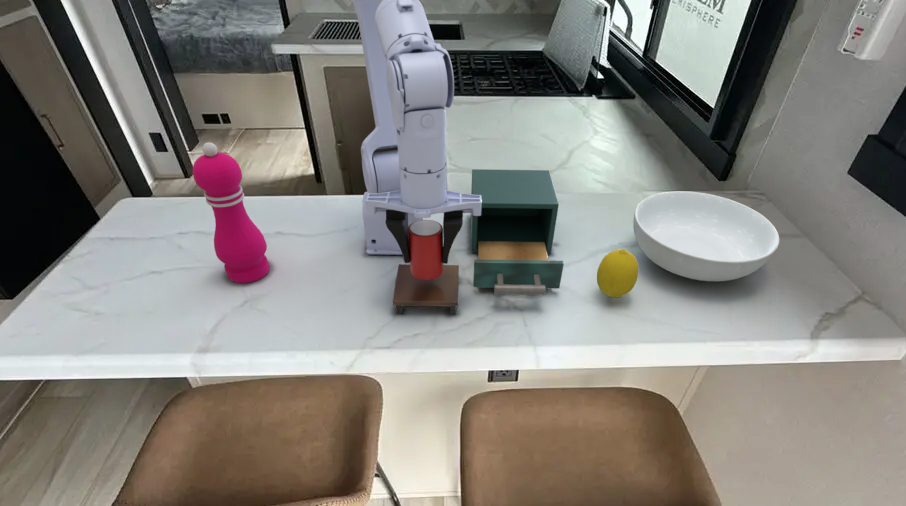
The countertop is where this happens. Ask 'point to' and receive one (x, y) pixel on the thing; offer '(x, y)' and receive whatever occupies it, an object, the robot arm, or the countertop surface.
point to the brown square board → (426, 289)
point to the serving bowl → (703, 235)
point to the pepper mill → (231, 216)
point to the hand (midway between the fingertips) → (426, 259)
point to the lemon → (617, 273)
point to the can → (426, 249)
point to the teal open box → (514, 207)
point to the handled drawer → (516, 268)
